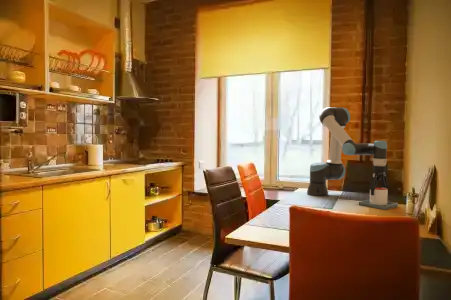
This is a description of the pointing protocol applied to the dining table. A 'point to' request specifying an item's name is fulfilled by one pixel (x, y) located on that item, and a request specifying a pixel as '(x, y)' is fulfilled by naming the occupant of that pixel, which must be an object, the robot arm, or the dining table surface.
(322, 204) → the dining table surface
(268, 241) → the dining table surface
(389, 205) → the tray
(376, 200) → the cup
